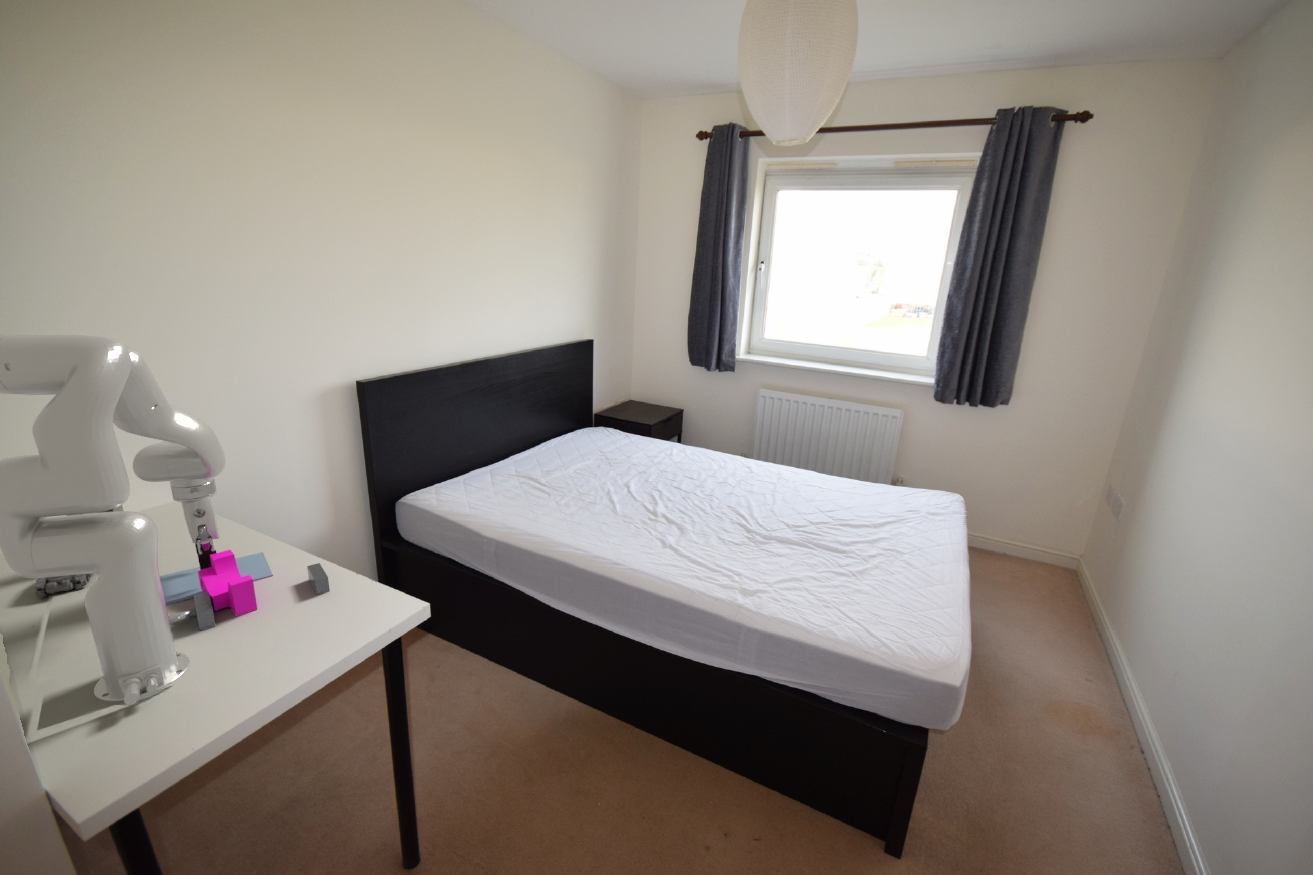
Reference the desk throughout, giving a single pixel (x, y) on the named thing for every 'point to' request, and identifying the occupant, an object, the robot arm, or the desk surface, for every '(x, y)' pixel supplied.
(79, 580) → the tank toy
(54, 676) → the desk surface
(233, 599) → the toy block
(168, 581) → the rubber mat
